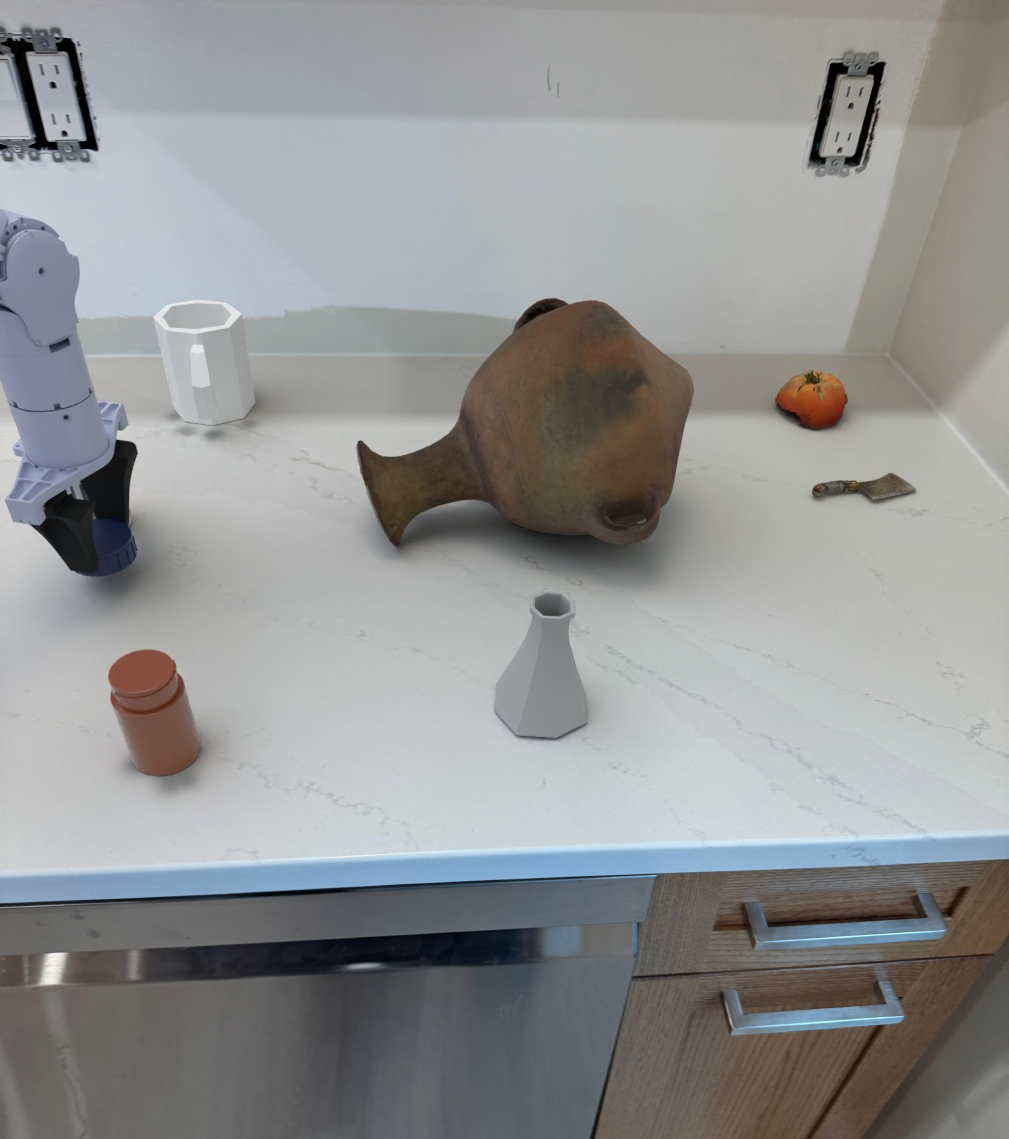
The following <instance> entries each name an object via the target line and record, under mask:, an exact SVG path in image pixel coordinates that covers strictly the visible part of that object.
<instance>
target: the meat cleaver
mask: <svg viewBox="0 0 1009 1139" xmlns="http://www.w3.org/2000/svg"><path fill="white" fill-rule="evenodd" d="M858 491H860V492H862V493H863V494H865V495H866V496H867V497H868V498H870V499H871V500H879V499H884V498H889V497H895V496H900V495H903V494H908V493H912V492H915V491H917V488H916V487H915V486H914V485H912V484H911V483H910V482H908V481H907V480H905V479H903V478H902V477H901V476H899V475H897V474H895V473H893V472H888V473H886V474H885V475H883V476H881V477H879V478H876V479H872V480H866V481H857V480H851V479H850V480H848V479H847V480H846V479H845V480H844V479H842V480H841V479H838V480H829V481H826V482H821V483H817V484H815V485H814V486H813V487H812V490H811V495H812V496H814V497H816V498H820V497H825V496H826V495H832V494H842V493H845V494H846V493H857V492H858Z"/></svg>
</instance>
